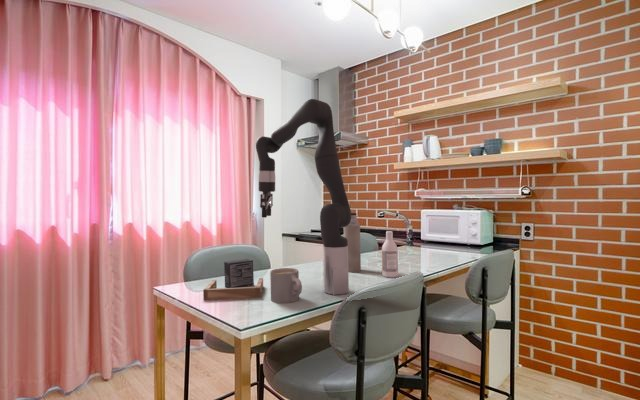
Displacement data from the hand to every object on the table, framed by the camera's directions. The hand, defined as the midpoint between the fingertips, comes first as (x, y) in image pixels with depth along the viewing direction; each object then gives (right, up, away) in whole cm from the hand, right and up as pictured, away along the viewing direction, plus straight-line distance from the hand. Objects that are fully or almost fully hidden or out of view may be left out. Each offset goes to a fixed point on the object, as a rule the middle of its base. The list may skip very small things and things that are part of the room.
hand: (266, 216), depth 161 cm
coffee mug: (+13, -28, -37) cm, 48 cm away
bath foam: (+56, -27, -3) cm, 62 cm away
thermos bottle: (+40, -27, +10) cm, 49 cm away
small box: (-9, -28, -16) cm, 33 cm away
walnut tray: (-8, -28, -26) cm, 39 cm away
